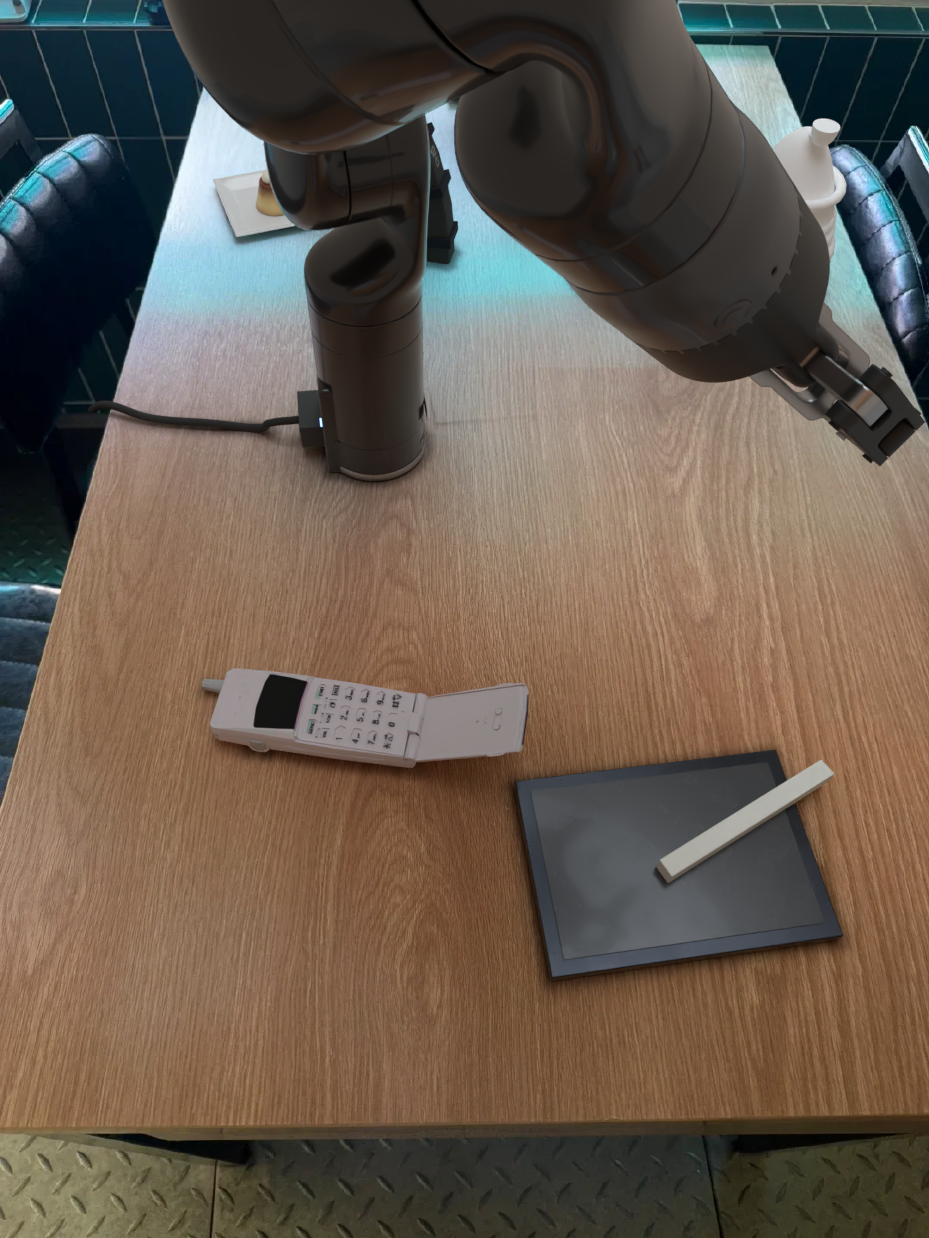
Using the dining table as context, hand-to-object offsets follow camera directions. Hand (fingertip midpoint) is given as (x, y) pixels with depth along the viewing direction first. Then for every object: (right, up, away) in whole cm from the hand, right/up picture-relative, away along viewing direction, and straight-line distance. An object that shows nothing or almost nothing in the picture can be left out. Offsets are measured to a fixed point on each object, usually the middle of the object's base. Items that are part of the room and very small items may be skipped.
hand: (813, 378), depth 47 cm
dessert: (-39, +36, +64) cm, 84 cm away
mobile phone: (-25, -21, +26) cm, 42 cm away
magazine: (-25, +29, +60) cm, 71 cm away
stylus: (-4, -29, +18) cm, 35 cm away
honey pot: (+16, +26, +59) cm, 67 cm away
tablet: (-3, -29, +21) cm, 36 cm away
